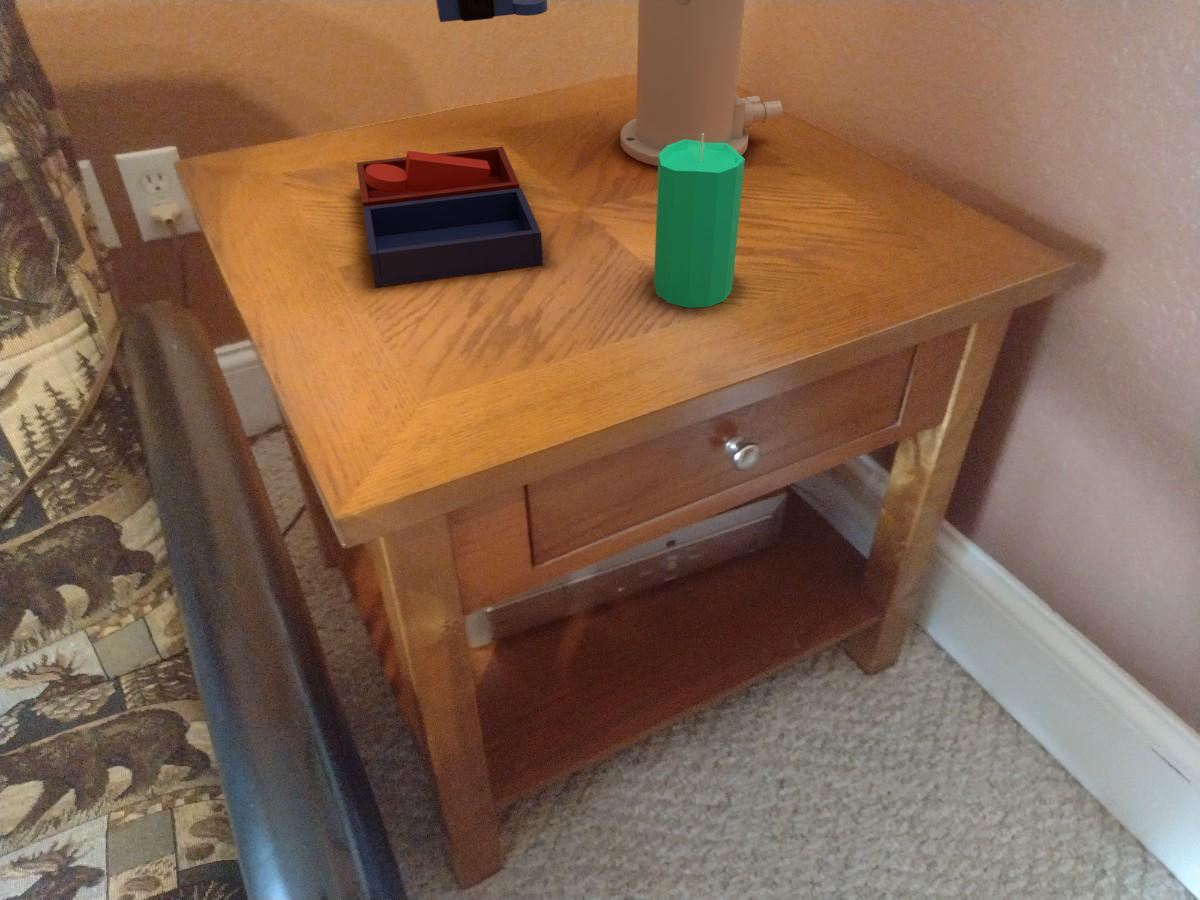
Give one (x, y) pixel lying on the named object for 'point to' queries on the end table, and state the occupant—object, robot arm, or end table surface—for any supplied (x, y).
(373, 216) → the navy bin
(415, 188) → the red spoon
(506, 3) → the blue spoon
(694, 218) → the candle
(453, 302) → the end table surface
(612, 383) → the end table surface
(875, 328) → the end table surface
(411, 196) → the maroon bin
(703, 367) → the end table surface
